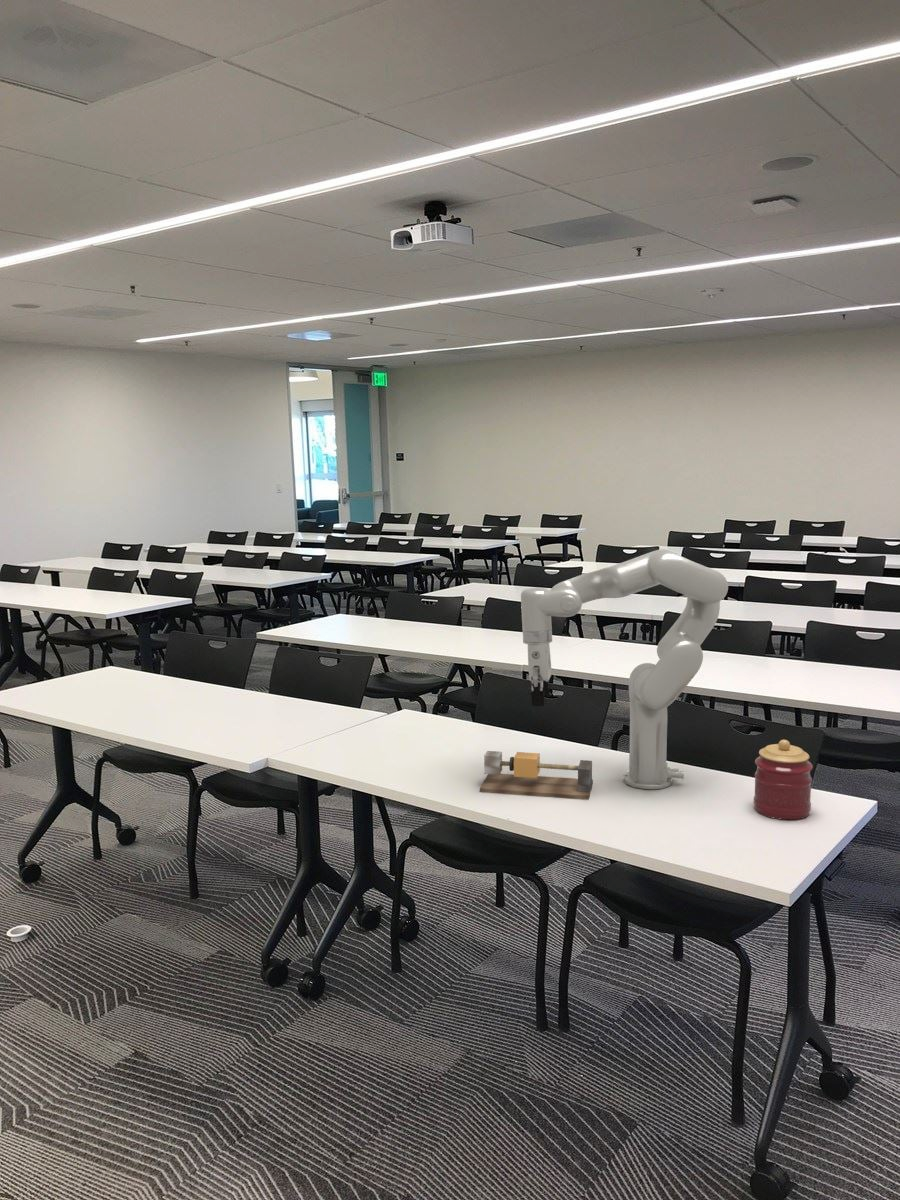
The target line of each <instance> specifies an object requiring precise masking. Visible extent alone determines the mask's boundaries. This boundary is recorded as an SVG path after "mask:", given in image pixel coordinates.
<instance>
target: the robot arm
mask: <svg viewBox="0 0 900 1200" xmlns="http://www.w3.org/2000/svg"><path fill="white" fill-rule="evenodd" d="M659 585H661V586H664V587H665V588H668V589H670V590H672V591H674V592H676V593H679V594H682V595H683V596H686V598H687V601H686V605H685V607H684V609H683V610H682V612H681V614H680V615H679V617H678V618H677V619H676V621H675V622H674V623H673V625H672V626H671V627H670V628H669V630H668V631H667V632H666V633H665V635H664V636H663V637H662V638H661V639H660V641H659V642H658V644H657V648H656V655H657V657H658V659H659V660H658V661H657V662H656V663H655V664H654V663H651V662H645V663H641V664H638V665H637V666H635V668H634V669H632V671H631V672H630V675H629V677H628V678H629V679H628V694H629V695H628V696H629V720H630V721H629V759H628V760H629V769H628V771H627V772H625V773H624V774H623V782H624V783H625V784H627V785H628V786H631V787H634V788H636V789H643V790H660V789H664V788H667V787H669V786H671V785H672V783H673V778H676V779H683V780H684V779H685V778H684V777H685V771H684V770H680V769H679V768H671V767H670V766H668V763H669V762H667V749H668V748H667V746H668V743H667V739H668V707H669V706H671V704H673V703H674V702H675V701H676V700H677V698H679V696H681V694H682V692H683V691H684V690H685V688H687V686H688V685H689V684H690V683H691V681H692V679H694V677H695V676H696V675H697V673H698V672H699V670H700V669H701V667H702V664H703V661H704V660H703V659H704V654H703V650H702V647H701V645H702V644H703V643H704V641H705V639H706V638H707V637H708V635H709V634H710V633H711V631H712V630H713V628H714V627H715V625H716V624H717V621H718V618H719V616H720V608H721V607H720V605H721V601H722V600H724V598H725V597H726V596H727V594H728V590H729V583H728V581H727V577H725V575H724V574H722V573H721V572H720V571H718V570H716V569H713V568H711V567H707V566H705V565H703V564H701V563H697V562H695V561H692V560H690V559H688V558H686V557H684V556H681V555H680V554H677V553H675V552H673V551H672V550H668V549H657V550H653V551H650V552H647V553H644V554H642V555H639V556H636V557H634V558H630V559H628V560H626V561H623V562H619V563H617V564H614V565H611V566H607V567H604V568H600V569H597V570H595V571H589V572H586V573H583V574H580V575H577V576H575V577H574V576H573V577H572V578H569V579H566V580H563V581H560V582H558V583H557V584H555V585H554V586H552V588H551V589H550V590H548V589H547V588H544V587H531V588H526V589H523V590H522V591H521V594H520V603H521V604H520V607H521V623H522V625H521V626H522V627H521V628H522V643H523V644H525V645H527V663H528V666H527V667H528V677H529V679H528V680H529V681H530V682H531V690H530V692H531V693H530V694H531V695H530V696H531V706H532V707H544V706H545V705H546V704H545V703H546V702H545V697H548V696H549V695H550V690H549V680H550V679H551V677H552V672H553V671H552V670H553V669H552V659H551V658H552V657H551V647H550V643H553V628H552V617H558V618H559V617H560V618H562V617H563V618H568V617H569V618H570V617H573V616H575V615H577V614H578V613H579V612H580V610H581V609H582V606H583V604H586V603H588V602H591V601H595V600H601V599H619V598H625V597H629V596H630V595H633V594H636V593H638V592H639V593H640V592H642V591H644V590H647V589H649V588H653V587H656V586H659Z"/></svg>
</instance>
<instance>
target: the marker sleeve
mask: <svg viewBox="0 0 900 1200" xmlns="http://www.w3.org/2000/svg"><path fill="white" fill-rule="evenodd" d="M513 757H514V771H513V774H514V777H528V778H537V777H538V776H539V774H540V771H541V768H538V763H540V753H539V752H525V751H524V752H522V751H516V754H515V755H514V756H513Z"/></svg>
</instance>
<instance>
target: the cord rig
mask: <svg viewBox="0 0 900 1200" xmlns="http://www.w3.org/2000/svg"><path fill="white" fill-rule="evenodd" d="M483 755H484V756H483V760H484V761H483V762H484V763H483V764H484V767H483V769H484V774H483V775H486V776H485V779H484V780H483V782H482V783H481V785H480V787H479V793H487V794H488V793H489V794H503V795H515V796H516V795H517V796H530V797H531V796H532V797H544V798H545V797H546V798H559V799H560V798H561V799H570V800H571V799H574V800H585V801H586V800H588V801H589V799H590V796H591V792H592V788H593V784H594V780H593V760H588V759H587V760H585V759H580V761H579V764H578V765H570V764H558V763H557V764H556V763H555V764H553V763H538V768H540V769H547V770H549V769H550V770H564V771H568V770H569V771H577V778H573V777H561V776H560V777H558V776H545V775H543V776H542V775H538V777H537V778H528V777H514V773H513V774H512V773H502V771H503V766H504V767H508V768H509V771H510V772H514V757H515V756H510V758H509V761H507V760H503V751H498V750H497V751H496V750H486V752H485V754H483Z"/></svg>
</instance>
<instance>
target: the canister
mask: <svg viewBox="0 0 900 1200" xmlns="http://www.w3.org/2000/svg"><path fill="white" fill-rule="evenodd" d="M758 751H759V752H758V754H759V756H758V757H756V758H755V760H754V764H755V765H756V766H757V767H756V771H755V772H754V796H753V805H754V809H755V811H756V810H757V811H756V812H757V813H759V814H761V815H763V816H765V815H766V817H768V816H769V817H768V818H771V817H774V818H773V819H776V818H781V819H780V820H783V819H796V820H800V819H799V818H802V819H804V818H803V817H805V818H807V817H808V816H810V811H811V810H812V806H811V805H812V802H811V797H812V796H811V795H812V794H811V791H812V782H813V779H812V778H813V777H812V776H811V771H812V769H813V763H811V762H810V761H809V759H810V755H809V754H808V753H807V752H806V751H805V750H803V748H801V747H799V746H796V745H792V744H791V743H790V741H789V740H787V739H780V741H779V742H778V743H775V744H768V745H766V746H765V747H763V748H761V749H759V750H758ZM806 816H807V817H806Z"/></svg>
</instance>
